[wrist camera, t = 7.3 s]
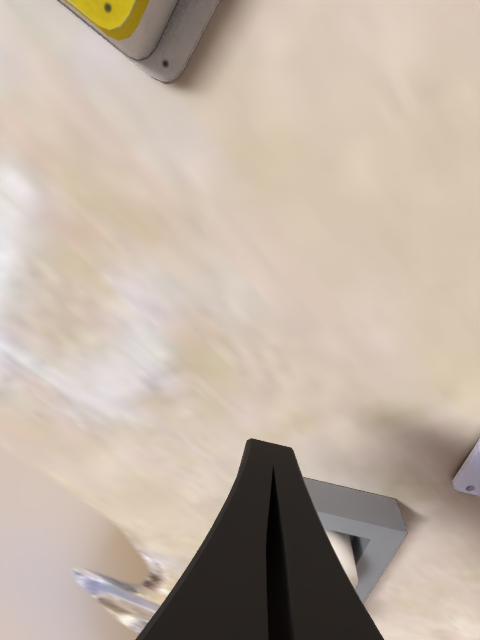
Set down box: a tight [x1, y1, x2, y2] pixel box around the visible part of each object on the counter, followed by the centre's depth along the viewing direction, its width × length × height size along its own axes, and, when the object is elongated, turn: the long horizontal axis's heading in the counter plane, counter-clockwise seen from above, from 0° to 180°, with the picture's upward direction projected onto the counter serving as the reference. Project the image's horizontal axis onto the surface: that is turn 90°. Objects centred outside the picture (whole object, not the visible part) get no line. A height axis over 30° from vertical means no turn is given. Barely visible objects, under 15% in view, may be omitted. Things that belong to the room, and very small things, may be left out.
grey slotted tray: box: [303, 477, 408, 603], centre depth 26 cm, size 9×21×2 cm, turn 169°
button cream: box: [324, 529, 358, 589], centre depth 23 cm, size 4×4×3 cm
